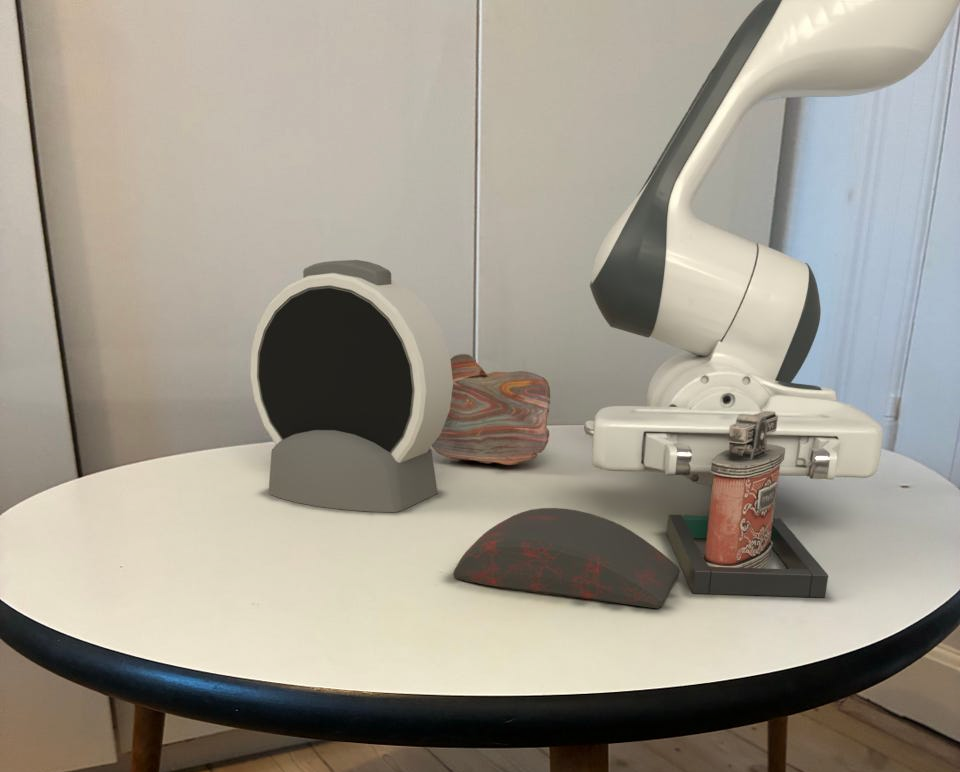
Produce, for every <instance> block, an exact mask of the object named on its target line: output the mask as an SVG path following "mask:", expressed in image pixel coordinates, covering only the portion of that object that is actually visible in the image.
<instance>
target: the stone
mask: <svg viewBox="0 0 960 772" xmlns="http://www.w3.org/2000/svg"><path fill="white" fill-rule="evenodd" d="M450 360H451V369H452V378H453V388H452V396H451V404H450V411H449V413H448V416H447V419H446V421H445V424H444V426H443V429H442V431H441V434H440V435H439V437H438V438H437V439H436V441H435V442H434V443H433V445H432V446H431V447H432V448H433V449H434V450H435V452H436V453H438V454H439V455H441V456H442V457H445V458H448V459H452V460H459V461H473V462H479V463H480V464H481V463H482V464H493V463H495V464H499V465H505V466H513V465H518V464H522V463H525V462H527V461H532V460H534V459H536V458H537V456H538V454H540V453H542V452H543V451H544V450H545V449H546V447H547V445H548V443H549V438H550V430H549V429H548V426H547V424H548V416H549V412H550V409H549V408H550V404H551V388H550V384H549V381H548V380H547V379H546V378H545V377H543V376H541V375H539V374H537V373H534V372H530V371H525V370H518V371H492V372H490V373H487V372H486V371H485V370H484V369H483V367H482V366H481V365H479V363H477V359H476V358H475V357H473V356H472V355H471V354H468V353H458V354H455V355H453V356H452V357H450Z"/></svg>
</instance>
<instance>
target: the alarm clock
mask: <svg viewBox="0 0 960 772" xmlns="http://www.w3.org/2000/svg"><path fill="white" fill-rule="evenodd" d="M302 274H303V275H302V277H303V278H301V279H299V280H297V281H295V282H292V283H290V284H289V285H286V286H285V287H284V288H283V289H282V291H280V292H279V293H278V294H277V295H276V296H275V297H273V299H272V300H271V301H270V302H269V304H268V305H267V307H266V308H265V311H264V313H263V314H262V316H261V318H260V320H259V321H258V322H257V325H256V329H255V333H254V337H253V339H252V340H253V341H252V345H251V348H250V365H249V366H250V367H249V368H250V369H249V376H250V382H251V383H250V384H251V388H252V389H251V390H252V394H253V401H254V403H255V406H256V409H257V411H258V414H259V416H260V420H261V422H262V424H263V427H264V428H265V430H266V432H267V433H268V434H269V436H270V438H271V439H272V441H273V443H274V444H275V445H274V447H273V448H272V449H271V454H270V465H269V482H268V495H271V496H273V497H275V498H278V499H281V500H285V501H289V502H294V503H298V504H302V505H303V504H304V505H308V506H313V507H318V508H319V507H320V508H327V509H335V510H343V511H345V510H346V511H357V512H369V513H370V512H371V513H398V512H402V511H404V510H406V509H408V508H411V507H412V506H414V505H416V504H419V503H421V502H423V501H425V500H427V499H429V498H432V497H434V496H436V495H437V494H438V488H437V480H436V471H435V465H434V457H433V450H432V449H431V447H432V445H433V443H434V442H435V441H436V439H437V438H438V437H439V435H440V434H441V431H442V429H443V426H444V424H445V421H446V419H447V416H448V413H449V411H450V404H451V396H452V388H453V378H452V369H451V360H450V359H451V354H450V352H449V348H448V346H447V343H446V340H445V337H444V334H443V331H442V329H441V327H440V325H439V324H438V322H437V321H436V319H435V317H434V316H433V314H432V313H431V311H430V309H429V308H428V306H427V305H426V304H425V303H424V302H423V301H421V299H420V298H418V296H416V294H414V293H413V292H412V291H411V290H410V289H409V288H408V287H406V286H405V285H403V284H401V283H400V282H397V281H395V280H394V279H392V273H391V271H390V270H389V269H387V268H385V267H383V266H382V265H380V264H377V263H373V262H370V261H365V260H359V259H347V260H346V259H345V260H344V259H343V260H330V261H329V260H328V261H322V262H317V263H313V264H310V265H309V266H307V267H305V268H304V269H303V271H302Z"/></svg>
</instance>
